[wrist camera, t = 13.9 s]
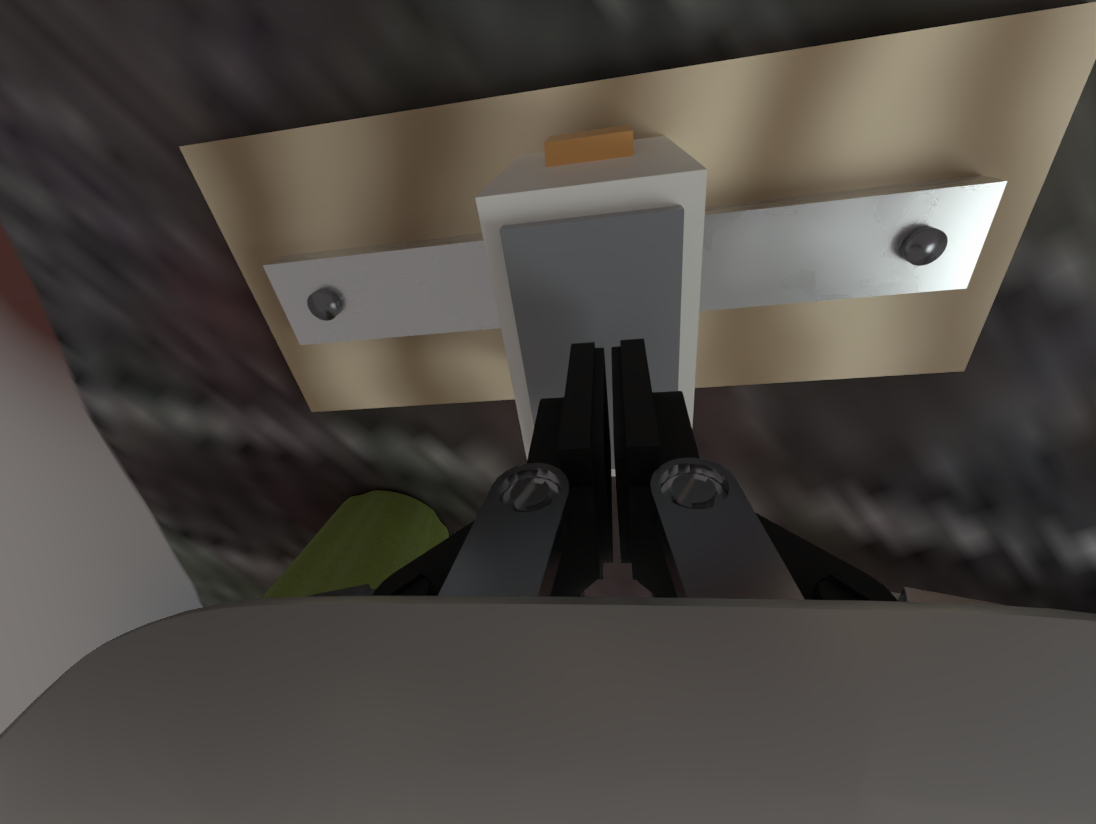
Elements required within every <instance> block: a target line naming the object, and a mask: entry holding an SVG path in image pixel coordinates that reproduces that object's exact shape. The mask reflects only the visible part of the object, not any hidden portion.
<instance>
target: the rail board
mask: <svg viewBox="0 0 1096 824" xmlns="http://www.w3.org/2000/svg"><path fill="white" fill-rule="evenodd" d="M1095 59H1096V2H1092V3H1085V4H1079V5H1073V6H1066V7H1060V8H1054V9H1047V10H1041V11H1035V12H1028V13H1022V14H1016V15H1009V16H1003V17H997V18H990V19H984V20H978V21H971V22H965V23H959V24H953V25H946V26H940V27H934V28H927V29H921V30H915V31H908V32H902V33H896V34H889V35H883V36H877V37H870V38H864V39H858V40H851V41H845V42H839V43H832V44H826V45H820V46H813V47H807V48H801V49H794V50H788V51H782V52H775V53H769V54H763V55H756V56H750V57H744V58H737V59H731V60H725V61H718V62H712V63H706V64H699V65H693V66H687V67H680V68H674V69H668V70H661V71H655V72H649V73H642V74H636V75H630V76H623V77H617V78H611V79H604V80H598V81H592V82H585V83H579V84H573V85H566V86H560V87H554V88H547V89H541V90H535V91H528V92H522V93H516V94H509V95H503V96H497V97H490V98H484V99H478V100H471V101H465V102H459V103H452V104H446V105H440V106H433V107H427V108H421V109H414V110H408V111H402V112H395V113H389V114H383V115H376V116H370V117H364V118H357V119H351V120H345V121H338V122H332V123H326V124H319V125H313V126H307V127H300V128H294V129H288V130H281V131H275V132H269V133H262V134H256V135H250V136H243V137H237V138H231V139H224V140H218V141H212V142H205V143H199V144H193V145H186V146H180V147H179V148H180V150H181V152H182V154H183V156H184V158H185V160H186V162H187V164H188V166H189V168H190V170H191V172H192V174H193V176H194V178H195V180H196V182H197V184H198V186H199V188H200V190H201V192H202V194H203V196H204V198H205V200H206V202H207V204H208V206H209V208H210V210H211V212H212V214H213V216H214V218H215V220H216V222H217V224H218V226H219V228H220V230H221V232H222V234H223V236H224V238H225V240H226V242H227V244H228V246H229V248H230V250H231V252H232V254H233V256H234V258H235V260H236V262H237V264H238V266H239V268H240V270H241V272H242V274H243V276H244V278H245V280H246V282H247V284H248V286H249V288H250V290H251V292H252V294H253V296H254V298H255V300H256V302H257V304H258V306H259V308H260V310H261V312H262V314H263V316H264V318H265V320H266V322H267V324H268V326H269V328H270V330H271V332H272V334H273V336H274V338H275V340H276V342H277V344H278V346H279V348H280V350H281V352H282V354H283V356H284V358H285V360H286V362H287V364H288V366H289V368H290V370H291V372H292V374H293V376H294V378H295V380H296V382H297V384H298V386H299V388H300V390H301V392H302V394H303V396H304V398H305V400H306V402H307V404H308V406H309V408H310V410H311V412H321V411H337V410H353V409H369V408H384V407H400V406H416V405H432V404H448V403H464V402H480V401H496V400H512V399H515V397H514V392H513V387H512V382H511V376H510V371H509V366H508V361H507V356H506V351H505V346H504V341H503V336H502V331H501V328H497V329H485V330H473V331H462V332H450V333H438V334H427V335H415V336H403V337H391V338H380V339H368V340H356V341H344V342H333V343H321V344H309V345H300V344H299V342H298V339H297V337H296V335H295V333H294V331H293V329H292V327H291V325H290V322H289V320H288V318H287V316H286V314H285V312H284V310H283V308H282V306H281V303H280V301H279V299H278V297H277V295H276V293H275V291H274V289H273V286H272V284H271V282H270V280H269V278H268V276H267V274H266V272H265V269H264V267H263V265H264V264H266V263H268V262H270V261H272V260H273V259H275V258H277V257H279V256H286V255H295V254H303V253H312V252H320V251H329V250H338V249H346V248H355V247H364V246H372V245H381V244H389V243H398V242H407V241H415V240H424V239H433V238H441V237H450V236H459V235H467V234H476V233H482V230H481V224H480V219H479V214H478V209H477V204H476V199H475V197H476V196H478V195H479V194H480V193H481V192H482V191H483V190H484V189H485V188H486V187H487V186H488V185H489V184H490V183H491V182H492V181H493V180H494V179H495V178H496V177H497V176H499V175H500V174H501V173H502V172H503V171H504V170H505V169H506V168H507V167H508V166H509V165H510V164H511V163H512V162H513V161H514V160H515V159H516V158H517V157H519V156H520V155H524V154H531V153H539V152H545V149H544V142H545V141H546V139H547V138H548V137H549V136H552V135H559V134H566V133H573V132H581V131H588V130H595V129H602V128H609V127H617V126H624V125H629V126H630V127H631V128H632V130H633V140H636V139H643V138H651V137H658V136H666V137H667V138H669V139H670V140H671V141H673V142H674V143H675V144H676V145H678V146H679V147H680V148H681V149H683V150H684V151H685V152H686V153H688V154H689V155H690V156H691V157H693V158H694V159H695V160H696V161H698V162H699V163H700V164H701V165H703V166H704V167H705V168H706V169H707V183H706V200H705V207H709V206H718V205H726V204H735V203H743V202H752V201H761V200H769V199H778V198H787V197H795V196H804V195H813V194H821V193H830V192H838V191H847V190H856V189H864V188H873V187H882V186H890V185H899V184H908V183H916V182H925V181H933V180H942V179H951V178H959V177H968V176H977V175H985V176H989V177H993V178H997V179H1001V180H1005V181H1007V184H1006V186H1005V189H1004V192H1003V194H1002V197H1001V199H1000V202H999V205H998V207H997V210H996V213H995V215H994V218H993V220H992V223H991V226H990V228H989V231H988V234H987V236H986V239H985V241H984V244H983V247H982V249H981V252H980V254H979V257H978V260H977V262H976V265H975V268H974V270H973V273H972V275H971V278H970V281H969V283H968V286H967V288H966V289H954V290H942V291H931V292H919V293H907V294H895V295H884V296H872V297H860V298H848V299H837V300H825V301H813V302H802V303H790V304H778V305H766V306H755V307H743V308H731V309H720V310H708V311H699V321H698V339H697V356H696V373H695V388H703V387H719V386H735V385H751V384H767V383H783V382H798V381H814V380H830V379H846V378H862V377H878V376H894V375H910V374H926V373H942V372H958V371H964V370H965V368H966V366H967V363H968V361H969V358H970V356H971V354H972V351H973V349H974V347H975V344H976V342H977V339H978V337H979V335H980V332H981V330H982V328H983V325H984V323H985V320H986V318H987V316H988V313H989V311H990V309H991V306H992V304H993V301H994V299H995V297H996V294H997V292H998V290H999V287H1000V285H1001V282H1002V280H1003V278H1004V275H1005V273H1006V271H1007V268H1008V266H1009V263H1010V261H1011V259H1012V256H1013V254H1014V252H1015V249H1016V247H1017V244H1018V242H1019V240H1020V237H1021V235H1022V233H1023V230H1024V228H1025V226H1026V223H1027V221H1028V218H1029V216H1030V214H1031V211H1032V209H1033V207H1034V204H1035V202H1036V199H1037V197H1038V195H1039V192H1040V190H1041V188H1042V185H1043V183H1044V180H1045V178H1046V176H1047V173H1048V171H1049V169H1050V166H1051V164H1052V161H1053V159H1054V157H1055V154H1056V152H1057V150H1058V147H1059V145H1060V142H1061V140H1062V138H1063V135H1064V133H1065V131H1066V128H1067V126H1068V123H1069V121H1070V119H1071V116H1072V114H1073V112H1074V109H1075V107H1076V104H1077V102H1078V100H1079V97H1080V95H1081V93H1082V90H1083V88H1084V85H1085V83H1086V81H1087V78H1088V76H1089V74H1090V71H1091V69H1092V66H1093V64H1094V62H1095Z"/></svg>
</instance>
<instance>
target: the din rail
mask: <svg viewBox="0 0 1096 824" xmlns="http://www.w3.org/2000/svg"><path fill="white" fill-rule="evenodd" d="M1006 184H1007V181H1005V180H1001V179H997V178H993V177H989V176H985V175H977V176H968V177H959V178H951V179H942V180H933V181H925V182H916V183H908V184H899V185H890V186H882V187H873V188H864V189H856V190H847V191H838V192H830V193H821V194H813V195H804V196H795V197H787V198H778V199H769V200H761V201H752V202H743V203H735V204H726V205H718V206H709V207H705V218H704V235H703V252H702V270H701V287H700V304H699V311H708V310H720V309H731V308H743V307H755V306H766V305H778V304H790V303H802V302H813V301H825V300H837V299H848V298H860V297H872V296H884V295H895V294H907V293H919V292H931V291H942V290H954V289H966V288H967V286H968V283H969V281H970V278H971V275H972V273H973V270H974V268H975V265H976V262H977V260H978V257H979V254H980V252H981V249H982V247H983V244H984V241H985V239H986V236H987V234H988V231H989V228H990V226H991V223H992V220H993V218H994V215H995V213H996V210H997V207H998V205H999V202H1000V199H1001V197H1002V194H1003V192H1004V189H1005V186H1006ZM263 267H264V269H265V272H266V274H267V276H268V278H269V280H270V282H271V284H272V286H273V289H274V291H275V293H276V295H277V297H278V299H279V301H280V303H281V306H282V308H283V310H284V312H285V314H286V316H287V318H288V320H289V322H290V325H291V327H292V329H293V331H294V333H295V335H296V337H297V339H298V342H299V344H300V345H309V344H321V343H333V342H344V341H356V340H368V339H380V338H391V337H403V336H415V335H427V334H438V333H450V332H462V331H473V330H485V329H497V328H501V326H500V321H499V316H498V311H497V306H496V300H495V295H494V290H493V285H492V280H491V275H490V270H489V265H488V260H487V255H486V250H485V245H484V240H483V235H482V233H476V234H467V235H459V236H450V237H441V238H433V239H424V240H415V241H407V242H398V243H389V244H381V245H372V246H364V247H355V248H346V249H338V250H329V251H320V252H312V253H303V254H295V255H286V256H279V257H277V258H275V259H273V260H272V261H270V262H268V263H266V264H264V265H263Z"/></svg>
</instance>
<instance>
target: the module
mask: <svg viewBox="0 0 1096 824" xmlns="http://www.w3.org/2000/svg"><path fill="white" fill-rule="evenodd" d="M544 149H545V152H539V153H531V154H524V155H520V156H519V157H517V158H516V159H515V160H514V161H513V162H512V163H511V164H510V165H509V166H508V167H507V168H506V169H505V170H504V171H503V172H502V173H501V174H500V175H499V176H497V177H496V178H495V179H494V180H493V181H492V182H491V183H490V184H489V185H488V186H487V187H486V188H485V189H484V190H483V191H482V192H481V193H480V194H479V195H478V196H476V197H475V199H476V204H477V209H478V214H479V219H480V224H481V230H482V235H483V240H484V245H485V250H486V255H487V260H488V265H489V270H490V275H491V280H492V285H493V290H494V295H495V300H496V306H497V311H498V316H499V321H500V326H501V331H502V336H503V341H504V346H505V351H506V356H507V361H508V366H509V371H510V376H511V382H512V387H513V392H514V397H515V402H516V407H517V412H518V417H519V422H520V427H521V432H522V437H523V442H524V447H525V452H526V458H527V459H528V454H529V449H530V445H531V440H532V435H533V430H534V425H535V421H536V416H537V411H538V406H539V402H540V399H543V398H561V397H564V395H565V387H566V380H567V372H568V364H569V357H570V349H571V344H574V343H588V342H595V348H604V354H605V368H606V383H607V397H608V412H609V426H610V441H611V476H616V475H615V460H614V438H613V397H612V356H611V347H618V346H620V340H629V339H643V338H644V342H645V349H646V355H647V362H648V368H649V374H650V381H651V387H652V392H669V391H682V393H683V396H684V400H685V403H686V407H687V411H688V415H689V419H690V423H691V427H692V425H693V408H694V391H695V373H696V356H697V339H698V321H699V304H700V287H701V270H702V252H703V235H704V218H705V200H706V183H707V169H706V168H705V167H704V166H703V165H701V164H700V163H699V162H698V161H696V160H695V159H694V158H693V157H691V156H690V155H689V154H688V153H686V152H685V151H684V150H683V149H681V148H680V147H679V146H678V145H676V144H675V143H674V142H673V141H671V140H670V139H669V138H667V137H666V136H658V137H651V138H643V139H636V140H633V130H632V128H631V127H630V126H629V125H624V126H617V127H609V128H602V129H595V130H588V131H581V132H573V133H566V134H559V135H552V136H549V137H548V138H547V139H546V141H545V142H544Z"/></svg>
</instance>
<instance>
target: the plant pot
mask: <svg viewBox="0 0 1096 824" xmlns="http://www.w3.org/2000/svg"><path fill="white" fill-rule="evenodd" d="M448 537H449V534H448V530H447V528H446V527H445V526H444V525H443V524H442V523H441V521H440V520H439V518H438V517H437V515H436V513H435V512H434V510H432V509H431V508H430V507H428V506H427V505H426V504H424V503H422V502H420V501H419V500H417V499H415V498H412V497H410V496H407V495H404V494H400V493H397V492H391V491H382V490H374V491H371V492H368V493H365V494H362V495H358V496H352V497H350V498H348V499H347V500H346V501H345V502H344V503H343V504H342V505H341V506H340V507H339V508H338V509H337V511H336V512H335V513H334V514H333V515H332V516H331V518H330V519H329V520H328V521H327V522H326V523H325V525H324V526H323V527H322V528H321V529H320V530H319V532H318V533H317V534H316V535H315V536H314V538H313V539H312V540H311V541H310V542H309V543H308V545H307V546H306V547H305V548H304V549H303V550H302V552H301V553H300V554H299V555H298V556H297V557H296V559H295V560H294V561H293V562H292V563H291V564H290V566H289V567H288V568H287V569H286V570H285V571H284V572H283V574H282V575H281V576H280V577H279V578H278V579H277V581H276V582H275V583H274V584H273V585H272V586H271V588H270V589H269V590H268V591H267V592H266V593H265V595H264V596H263V597H262V598H261V599H267V598H286V597H304V596H309V595H314V594H319V593H324V592H329V591H334V590H339V589H344V588H349V587H354V586H359V585H364V584H369V586H370V588H371V589H376V588H378V586H379V585H380V584H381V583H382V582H383V581H384V580H385V579H386V578H388V577H389V576H390V575H391V574H393V573H394V572H396V571H397V570H399V569H400V568H402V567H403V566H405V565H407V564H408V563H410V562H411V561H413V560H414V559H416V558H417V557H419V556H420V555H422V554H424V553H425V552H427V551H428V550H430V549H431V548H433V547H434V546H436V545H438V544H439V543H441V542H442V541H444V540H445V539H447V538H448Z"/></svg>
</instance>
